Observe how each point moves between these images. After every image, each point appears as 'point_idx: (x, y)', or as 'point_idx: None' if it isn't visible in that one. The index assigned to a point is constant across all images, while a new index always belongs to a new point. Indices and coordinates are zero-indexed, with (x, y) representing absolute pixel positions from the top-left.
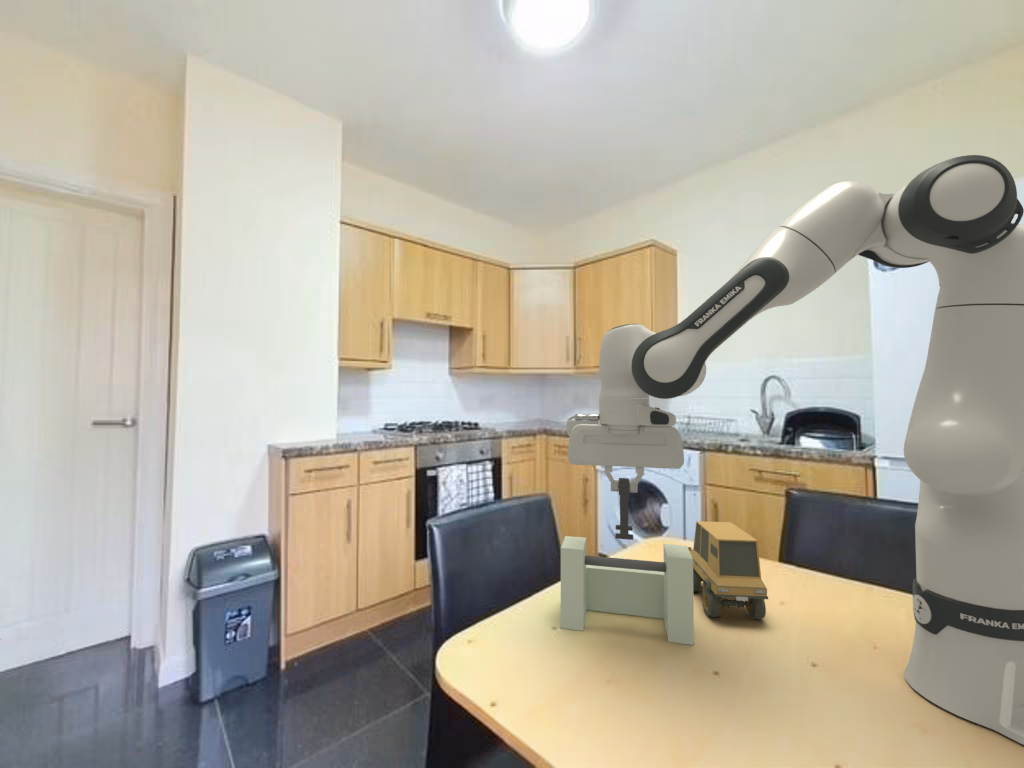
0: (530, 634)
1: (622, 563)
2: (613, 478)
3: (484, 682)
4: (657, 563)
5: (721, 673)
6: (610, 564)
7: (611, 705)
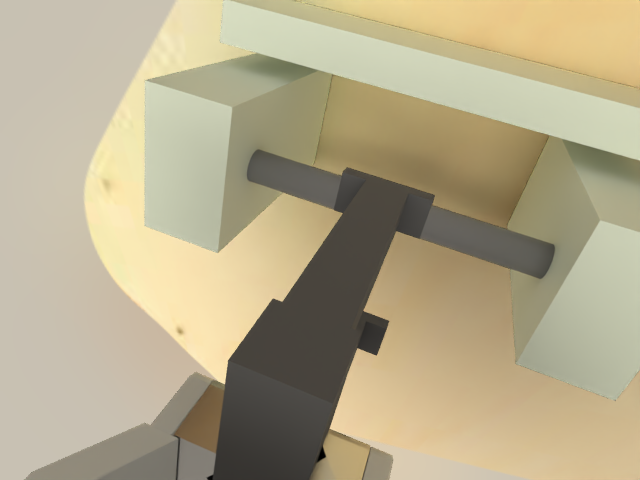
0: None
1: None
2: (162, 451)
3: (159, 291)
4: (510, 266)
5: None
6: None
7: None
